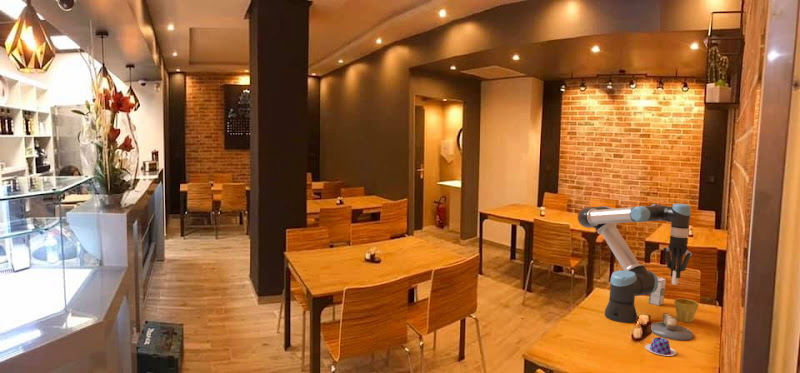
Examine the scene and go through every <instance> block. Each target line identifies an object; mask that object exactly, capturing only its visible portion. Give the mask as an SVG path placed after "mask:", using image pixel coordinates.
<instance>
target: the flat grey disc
mask: <svg viewBox="0 0 800 373" xmlns="http://www.w3.org/2000/svg"><path fill="white" fill-rule="evenodd" d="M651 330H652V332H651V333H652V334H654V335H656V336H657V337H661V338H664V339H666V340H673V341H679V342H680V341H683V342H684V341H690V340H693V338H694V333H693V331H692V330H691V329H690V328H686V327H684V326H681V325H678V324H676V330H669V329H667V328H666V325H665V324H664V323H663V321H658V322H651Z"/></svg>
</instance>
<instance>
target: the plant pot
mask: <svg viewBox="0 0 800 373" xmlns="http://www.w3.org/2000/svg"><path fill="white" fill-rule="evenodd" d="M673 306H674V308H675V312H676V319H677V320H678V321H679V322H682V323H692V322H693V320H694V318H695V314H696V312H697V311H698V308H699V302H697V301H695V300H692V299H689V298H676V299H674V304H673Z"/></svg>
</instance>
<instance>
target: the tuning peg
mask: <svg viewBox="0 0 800 373" xmlns="http://www.w3.org/2000/svg"><path fill="white" fill-rule="evenodd" d="M662 318H663V319H662V322H663V323H664V324H665V325H666V328H667V329H669V330H676V325H677V323H678V322H677V320H678V319H677V317H673V316H671V315H669V313H666V312H663V317H662Z"/></svg>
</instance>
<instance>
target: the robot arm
mask: <svg viewBox="0 0 800 373" xmlns="http://www.w3.org/2000/svg"><path fill="white" fill-rule="evenodd" d="M691 213H692V212H691V206H690V204H685V203H673V204H672V206H667V205H662V204H655V203H653V204H651V205H645V206H644V205H640V206H630V207H629V206H628V207H618V208H617V207H616V208H611V207H610V206H604V205H602V206H601V205H600V206H589V207H584V208H581V209H580V210H579V212H578V214H577V221H578V223H579V225H581V226H582V227H583V228H588V229H592V228H594V229H595V231H596V233H597V234H598V235H602V237H603V239H604V240H605V242H606V243H607V245H608V247H609V248H610V250H611V253H612V254H613V255H614V257H615V258H616V260H617V261H618V262H617V263H618V264H619V265H620V267H621V268H622V270H621V269H620V270H615V271H613V272H612V273H611V277H610V280H609V285H610V286H609V299H608V302H607V305H606V307H605V309H604V316H605V318H606V319H609V320H612V321H615V322H620V323H636V322H637V321H636V320H638V313H637V310H636V306H635V298H636V297H638V296H639V297H640V296H647V295H648V296H649V294H651V293H653V292H655V291H656V290H657V288H658V279H657V277H658V276H657V274H655V273H654V272H653V271H650V270H648V269H647V268H646V266H645V265H644V264H641V263H640V262H639V261H638V260H637V257H636V256H635V255H634V253H633V251H632V250H631V249H630V246H629V245H628V243H627V242H626V239H625V238H624V237H623V235H622V234H621V232H620V231H619V229H618V228H617V226H618V224H621V223H623V224H624V223H645V222H646V223H647V222H660V221H661V222H668V223H670V233H669V234H670V236H669V244H668V246H667V247H663V252H664V254H665V256H664V257H665V261H666V262H665V263H666V268H667V269H669V270H670V277H671V285H674V286H676V285H678V284H679V283H678V282H679V279H680V278H681V273H682V272H684V271H686V269H687V267H688V264H689V261H690V259H691V257H692V256H693V254H694V253H693V252H690V251H689V249H688V245H689V244H688V243H689V242H688V241H689V231H690V230H689V229H690V219H691ZM684 254H685V255H684Z"/></svg>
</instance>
